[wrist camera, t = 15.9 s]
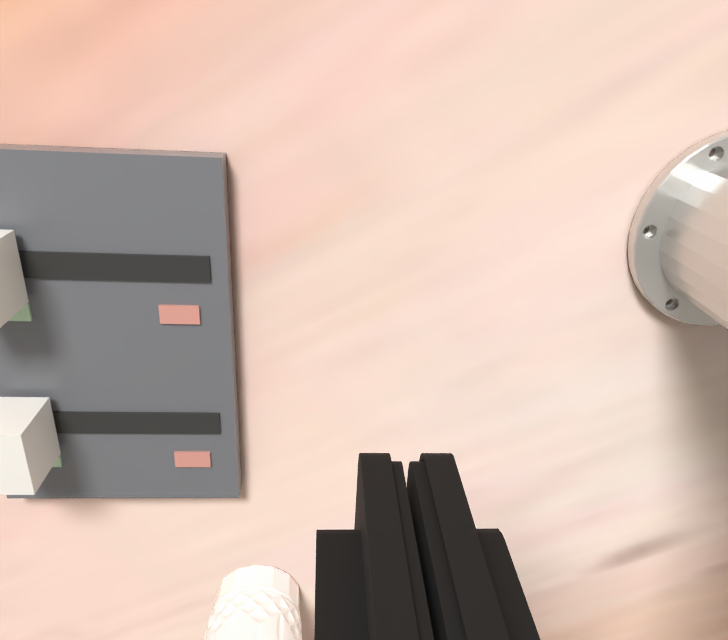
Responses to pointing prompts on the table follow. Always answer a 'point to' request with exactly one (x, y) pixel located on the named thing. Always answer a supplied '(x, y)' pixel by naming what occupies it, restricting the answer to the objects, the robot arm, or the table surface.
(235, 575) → the white cup
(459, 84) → the table surface
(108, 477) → the breaker panel
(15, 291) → the block
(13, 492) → the block
